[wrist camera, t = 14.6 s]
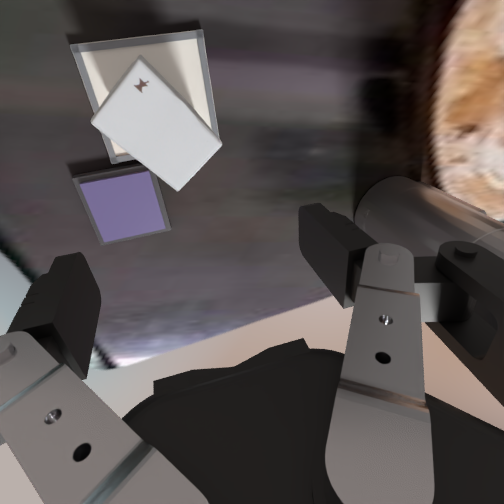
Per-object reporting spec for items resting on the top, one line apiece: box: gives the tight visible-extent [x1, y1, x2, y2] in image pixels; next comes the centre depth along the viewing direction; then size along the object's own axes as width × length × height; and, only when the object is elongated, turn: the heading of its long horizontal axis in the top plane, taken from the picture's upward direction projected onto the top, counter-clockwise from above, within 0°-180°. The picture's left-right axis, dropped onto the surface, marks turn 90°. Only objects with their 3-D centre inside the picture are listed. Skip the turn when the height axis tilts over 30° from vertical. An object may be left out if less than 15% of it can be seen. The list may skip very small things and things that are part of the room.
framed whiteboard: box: [70, 30, 220, 164], centre depth 27 cm, size 10×9×1 cm
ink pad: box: [72, 163, 171, 246], centre depth 31 cm, size 7×7×1 cm
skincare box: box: [91, 55, 222, 191], centre depth 22 cm, size 6×4×12 cm
